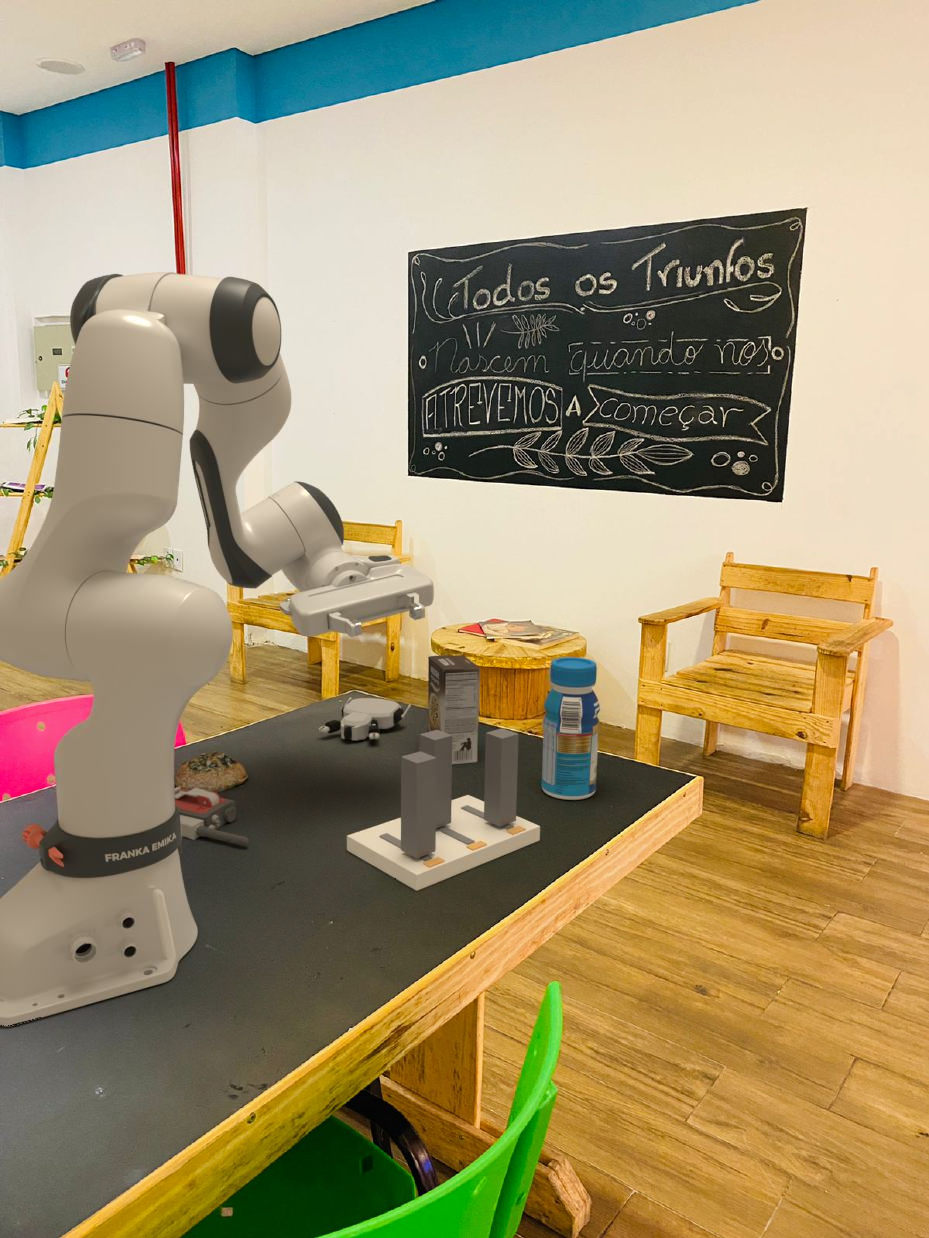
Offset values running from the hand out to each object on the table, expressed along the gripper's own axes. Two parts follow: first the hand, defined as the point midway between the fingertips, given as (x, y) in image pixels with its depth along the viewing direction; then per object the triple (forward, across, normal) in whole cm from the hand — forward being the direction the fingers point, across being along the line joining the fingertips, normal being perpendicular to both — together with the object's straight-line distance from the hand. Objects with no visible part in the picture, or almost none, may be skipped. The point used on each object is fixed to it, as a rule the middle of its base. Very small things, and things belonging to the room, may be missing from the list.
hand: (389, 622), depth 121 cm
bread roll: (-22, -20, +31) cm, 43 cm away
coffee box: (-13, +17, +34) cm, 40 cm away
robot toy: (-30, +10, +37) cm, 49 cm away
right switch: (+17, +7, +24) cm, 30 cm away
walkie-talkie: (-7, -26, +27) cm, 38 cm away
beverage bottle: (+9, +24, +31) cm, 40 cm away
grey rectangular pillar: (+13, -1, +24) cm, 27 cm away
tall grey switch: (+19, -7, +22) cm, 29 cm away
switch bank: (+15, -1, +26) cm, 30 cm away
